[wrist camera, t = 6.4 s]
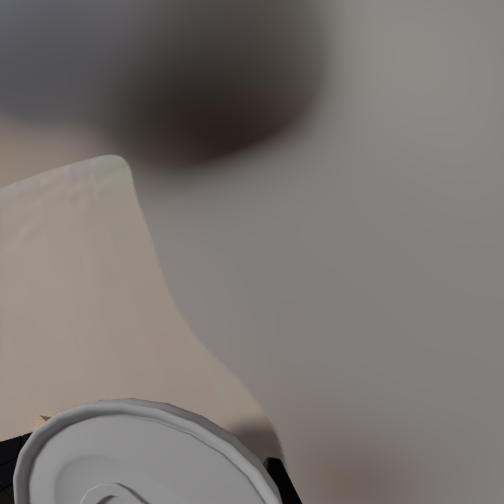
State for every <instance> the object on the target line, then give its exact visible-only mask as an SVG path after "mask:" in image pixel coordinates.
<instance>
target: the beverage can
mask: <svg viewBox="0 0 504 504" xmlns="http://www.w3.org/2000/svg"><path fill="white" fill-rule="evenodd" d="M13 485H14V501H15V504H283V503H282V500H281V497H280V493H279V490H278V487H277V486H276V484H275V483H274V481H273V480H272V478H271V477H270V475H269V474H268V472H267V470H266V469H265V467H264V466H263V464H262V463H261V461H260V460H259V458H258V457H257V456H255V455H254V454H253V453H252V452H251V451H250V450H249V449H248V448H247V447H246V446H245V445H244V444H243V443H242V442H241V441H240V440H239V439H238V438H236V437H235V436H234V435H233V434H231V433H230V432H228V431H226V430H225V429H223V428H221V427H220V426H218V425H216V424H215V423H213V422H211V421H210V420H208V419H207V418H205V417H203V416H201V415H198V414H195V413H193V412H190V411H187V410H184V409H182V408H179V407H176V406H174V405H171V404H168V403H161V402H153V401H147V400H140V399H134V398H128V399H115V400H99V401H96V402H94V403H90V404H84V405H81V406H78V407H75V408H72V409H69V410H66V411H63V412H60V413H57V414H56V415H54V416H53V417H52V418H50V419H49V420H47V421H46V422H45V423H43V424H42V425H41V426H39V427H38V428H36V429H35V430H34V432H33V433H32V434H31V436H30V437H29V439H28V440H27V442H26V443H25V445H24V446H23V448H22V449H21V451H20V453H19V457H18V460H17V464H16V468H15V472H14V476H13Z"/></svg>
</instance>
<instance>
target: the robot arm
mask: <svg viewBox="0 0 504 504" xmlns="http://www.w3.org/2000/svg"><path fill="white" fill-rule="evenodd" d="M32 433H33V432H31V433H28V434H25V435H23V436H18V437H15V438H12V439H9V440H5V441H1V442H0V504H15V501H14V485H13V476H14V472H15V468H16V464H17V460H18V457H19V453H20V451H21V449H22V448H23V446H24V445H25V443H26V442H27V440H28V439H29V437H30V436H31V434H32ZM263 466H264V467H265V469H266V470H267V472H268V474H269V475H270V477H271V478H272V480H273V481H274V483H275V484H276V486H277V487H278V490H279V493H280V497H281V500H282V503H283V504H302V502H301V500H300V498H299V496H298V494H297V492H296V490H295V488H294V486H293V484H292V482H291V480H290V478H289V476H288V474H287V472H286V470H285V468H284V466H283V464H282V462H281V460H280V459H278V458H272V457H267V458H266V460H265V462H264V464H263Z"/></svg>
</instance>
